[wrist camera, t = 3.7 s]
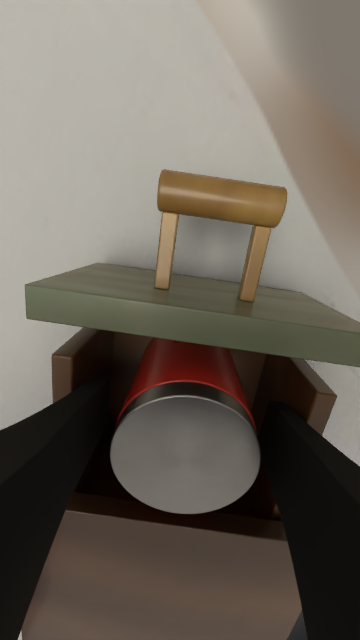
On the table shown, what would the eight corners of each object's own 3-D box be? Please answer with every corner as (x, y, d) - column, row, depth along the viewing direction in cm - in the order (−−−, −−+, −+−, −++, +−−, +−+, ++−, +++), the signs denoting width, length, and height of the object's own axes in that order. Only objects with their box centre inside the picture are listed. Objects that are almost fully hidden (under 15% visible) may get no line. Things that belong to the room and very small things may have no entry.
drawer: (100, 178, 13) (14, 125, 7) (326, 212, 13) (453, 191, 7) (91, 424, 18) (37, 527, 12) (255, 447, 18) (290, 563, 12)
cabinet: (89, 382, 18) (6, 502, 10) (269, 408, 18) (333, 548, 10) (85, 507, 22) (24, 664, 14) (233, 527, 22) (258, 696, 14)
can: (140, 392, 16) (104, 504, 9) (148, 314, 14) (111, 383, 8) (222, 404, 16) (244, 524, 9) (239, 327, 14) (282, 407, 8)
